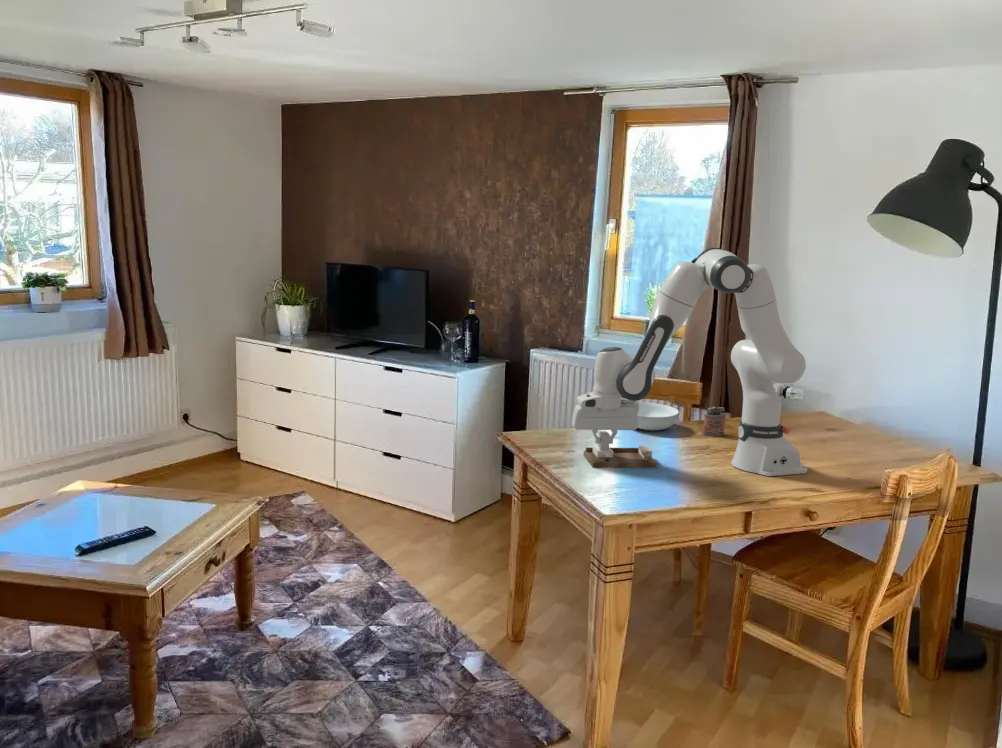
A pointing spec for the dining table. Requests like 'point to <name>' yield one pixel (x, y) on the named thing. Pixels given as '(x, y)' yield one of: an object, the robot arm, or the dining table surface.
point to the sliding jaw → (603, 446)
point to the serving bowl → (656, 416)
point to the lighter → (714, 422)
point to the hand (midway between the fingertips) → (603, 443)
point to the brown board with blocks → (623, 458)
